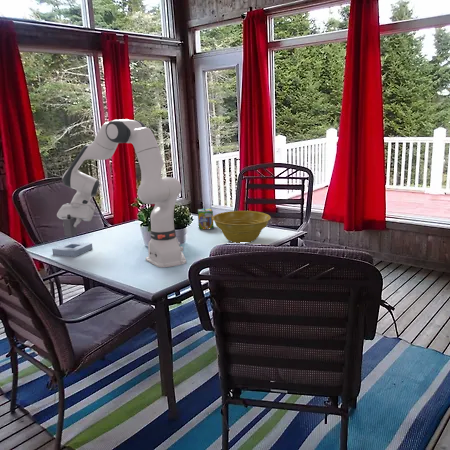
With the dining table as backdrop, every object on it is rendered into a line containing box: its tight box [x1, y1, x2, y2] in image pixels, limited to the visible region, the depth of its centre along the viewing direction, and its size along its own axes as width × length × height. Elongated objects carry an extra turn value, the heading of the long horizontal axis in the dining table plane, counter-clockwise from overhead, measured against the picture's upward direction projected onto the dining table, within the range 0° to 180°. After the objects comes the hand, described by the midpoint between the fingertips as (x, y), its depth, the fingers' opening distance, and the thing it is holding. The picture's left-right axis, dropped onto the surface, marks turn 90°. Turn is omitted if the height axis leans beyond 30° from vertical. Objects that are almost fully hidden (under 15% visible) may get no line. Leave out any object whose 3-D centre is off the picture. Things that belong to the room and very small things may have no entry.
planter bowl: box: [212, 210, 272, 244], centre depth 230 cm, size 32×32×13 cm
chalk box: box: [197, 204, 215, 230], centre depth 258 cm, size 9×9×15 cm
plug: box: [62, 214, 78, 237], centre depth 215 cm, size 4×4×11 cm
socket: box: [52, 241, 94, 258], centre depth 218 cm, size 14×14×3 cm
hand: (69, 226), depth 215 cm, fingers closed on plug, 4 cm apart
